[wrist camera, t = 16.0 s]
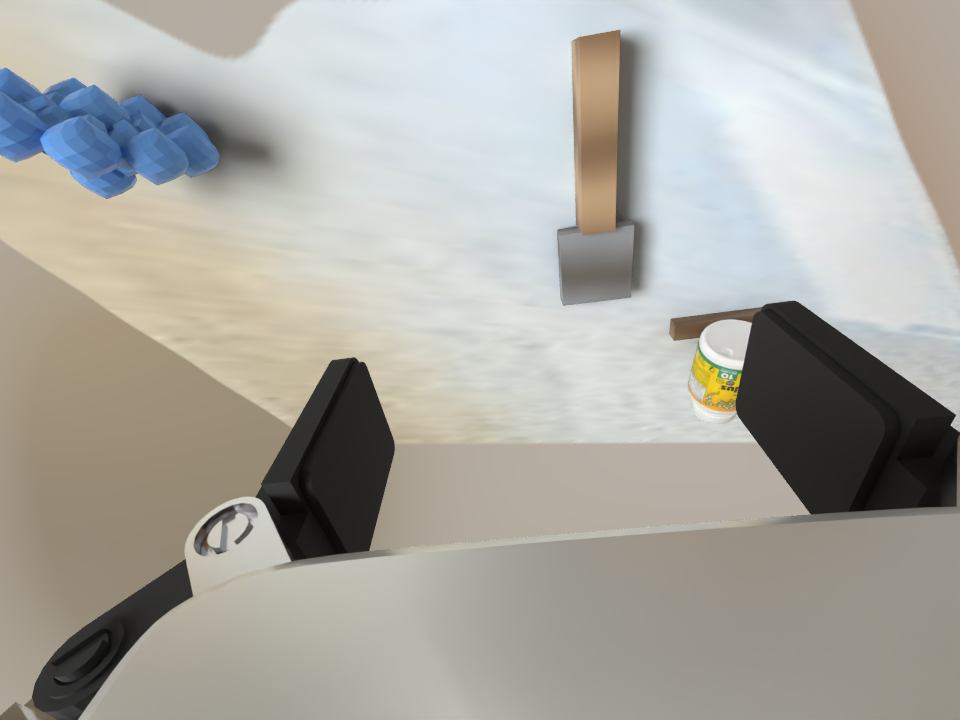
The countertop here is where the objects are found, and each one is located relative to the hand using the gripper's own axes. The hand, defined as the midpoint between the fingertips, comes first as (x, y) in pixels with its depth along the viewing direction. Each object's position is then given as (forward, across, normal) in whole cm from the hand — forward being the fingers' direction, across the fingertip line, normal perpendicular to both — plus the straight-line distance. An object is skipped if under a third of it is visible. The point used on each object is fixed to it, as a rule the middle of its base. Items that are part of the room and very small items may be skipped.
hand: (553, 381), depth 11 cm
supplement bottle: (+22, -17, +14) cm, 31 cm away
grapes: (+26, +25, -7) cm, 37 cm away
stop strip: (+26, -18, +15) cm, 35 cm away
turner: (+26, -6, +1) cm, 27 cm away
